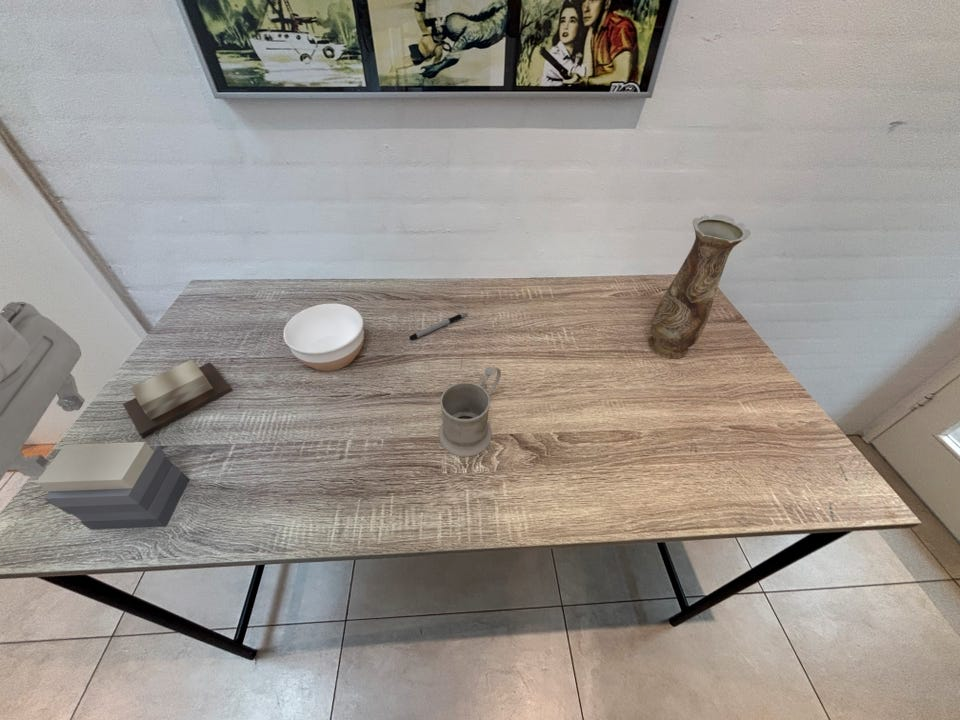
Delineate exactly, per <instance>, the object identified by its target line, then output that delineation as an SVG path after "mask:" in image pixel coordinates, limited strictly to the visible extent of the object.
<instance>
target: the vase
mask: <svg viewBox="0 0 960 720" xmlns="http://www.w3.org/2000/svg"><path fill="white" fill-rule="evenodd" d="M692 225H693V229H694V233H695V238H694V242H693V244H692V246H691V249H690V250H689V252H688V254H687V256H686V257H685V259H684V260H683V263H682V264H681V266H680V268H679V270H678V272H677V273H676V275H675V277H674V278H673V280H672V282H671V283H670V285H669V287H668V288H667V290H666V292H665V293H664V295H663V297H662V298H661V300H660V301H659V303H658V305H657V307H656V309H655V312H654V313H653V317H652V320H651V324H650V333H651V335H650V336H649V338H648V339H647V345H648V347H649V348H650V349H651V351H653V352H654V353H655V354H656V355H658V356H660V357H663V358H666V359H674V360H675V359H682V358H684V357H685V356H686V355H687V354H688V352H689V348H690V347H692V346H694V345H695V343H697V341H698V340H699V339H700V337H701V335H702V333H703V332H704V329H705V328H706V325H707V323H708V320H709V317H710V314H711V311H712V308H713V304H714V300H715V298H716V294H717V291H718V288H719V285H720V281H721V278H722V276H723V273H724V269H725V266H726V265H727V261H728V259H729V256H730V254H731V252H732V251H733V249H734V248H735V247H736V246H737V245H738V244H740V243H741V242H743V241H744V240H746V239H748V238H749V237H750V236H751V231H750V229H748V228H745V227H746V226H745V223H743V222H738V223H737V222H735V219H734V218H732V217H731V216H729V215H726V214H725V215H724V214H714V215H713V216H711V217H710V216H709V215H706V214H704V215H702V216H700V218H699V217H694V218H693V220H692Z"/></svg>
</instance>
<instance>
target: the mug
mask: <svg viewBox="0 0 960 720" xmlns="http://www.w3.org/2000/svg"><path fill="white" fill-rule="evenodd" d="M484 373H485V375H484V377H483V379H482V381H481V383H480V384H477V383H473V382H466V381H463V382H457V383H454V384H452V385H450V386H449V387H446V389H445V390H444V391H443V393H442V394H441V396H440V401H439V403H440V409H441V417H442V423H441V425H440V427H439V430H438V439H439V443H440V445H441V446H442V448H443V449H444V450H445V451H446V452H448V453H449V454H452V455H454V456H456V457H461V458H462V457H464V458H469V457H474V456H477V455H478V454H481V453H483V452H484V451H485V450H486V449H487V448H488V447H489V446H490V443H491V441H492V435H493V431H492V428H491V425H490V423H489V422H488V421H489V410H490V407H491V406H490V405H491V397H490V396H491V395H492V393H493V392H494V391H495V390H496V388H497V386H498V384H499V382H500V380H501V376H502V373H501V369H500V368H499V367H494V366H487V367H486V368H485V369H484ZM495 374H496V377H495V380H494V382H493V384H492V386H490V388H489V389H488V384H487V381H488V379H489V377H490V376H493V375H495ZM487 389H488V391H487ZM460 417H469V418H460Z"/></svg>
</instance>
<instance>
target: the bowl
mask: <svg viewBox="0 0 960 720" xmlns="http://www.w3.org/2000/svg"><path fill="white" fill-rule="evenodd" d="M282 336H283V340H284V342H285V344H286V345H287V346H288V348H289V349H290V351H291V354H292V355H293V356H294V357H295V358H296V359H297V361H298V362H300V363H302V364H304V366H307V367H308V368H311V369H314V370H317V371H319V372H320V371H321V372H331V371H332V372H334V371H337V370H341V369H343V368H345V367H347V366H348V365H350V364H351V363H352V362H353V361H354V360H355V359H356V357H357V355H358V354H359V353H360V351H361V349H362V347H363V344H364V341H365V331H364V320H363V316H362V315H361V314H360V312H359V311H358V310H357V309H355V308H354V307H352V306H350V305H346V304H342V303H323V304H321V303H320V304H317V305H313V306H310V307H307V308H305V309H303V310H300V311H299V312H298V313H296V314H295V315H293V316H292V317H291V318H290V319H289V320H288V322H287V323H286V324H285V325H284V329H283V332H282Z"/></svg>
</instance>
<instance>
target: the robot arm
mask: <svg viewBox="0 0 960 720" xmlns="http://www.w3.org/2000/svg"><path fill="white" fill-rule="evenodd" d="M81 357H82V351H81V347H80V345H79V343H78V342H77V341H76V340H75V339H74V338H73V337H72V336H70V335H69V333H67V332H66V331H65V330H64V329H63V328H62V327H61V326H60V325H58V324H57V323H56V322H55V321H53V320H52V319H50V318H49V317H47V316H44V315H43V314H41V312H39V311H38V310H37V308H36V307H35V306H34V305H33V304H31V303H28V302H24V301H16V302H15V301H11V302H9V303H7V304H6V305H5V306H4V307H3V308H2V310H1V311H0V481H2V480H3V478H4V477H5V475H6V474H7V472H8V470H10V471H13V470H14V471H15V470H16V471H17V472H19V473H20V474H21V475H23V476H26V477H35V476H36V477H37V476H41V475H42V474H43V473H44V471H45V469H46V468H47V467H48V466H49V464H50V461H49V460H48V459H46V458H45V457H44V456H43V455H41V454H35V455H32V456H25V454H24V452H23V451H21V450H22V449H23V447H24V445H25V443H26V442H27V441H28V439H29V438H30V436H31V434H32V433H33V431H34V430H35V429H36V427H37V425H38V424H39V422H40V421H41V419H42V417H43V416H44V415H45V413H46V411H47V410H48V409H49V407H50V405H51V404H52V402H53V400H55V397H58V400H57V401H56V405H58V406H59V407H61V409H62V410H63V411H64V412H74V411H80V409H81V408H82V406H83V405H84V403H85V401H86V399H85V398H84V397H83V396H82V395H81V394H80V393H79V390H78V386H77V383H76V380H75V379H76V378H75V376H74V375H73V374H71V373H72V371H73V370H74V368H75V366H76V365H77V363H78V362H79V360H80V358H81Z"/></svg>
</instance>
